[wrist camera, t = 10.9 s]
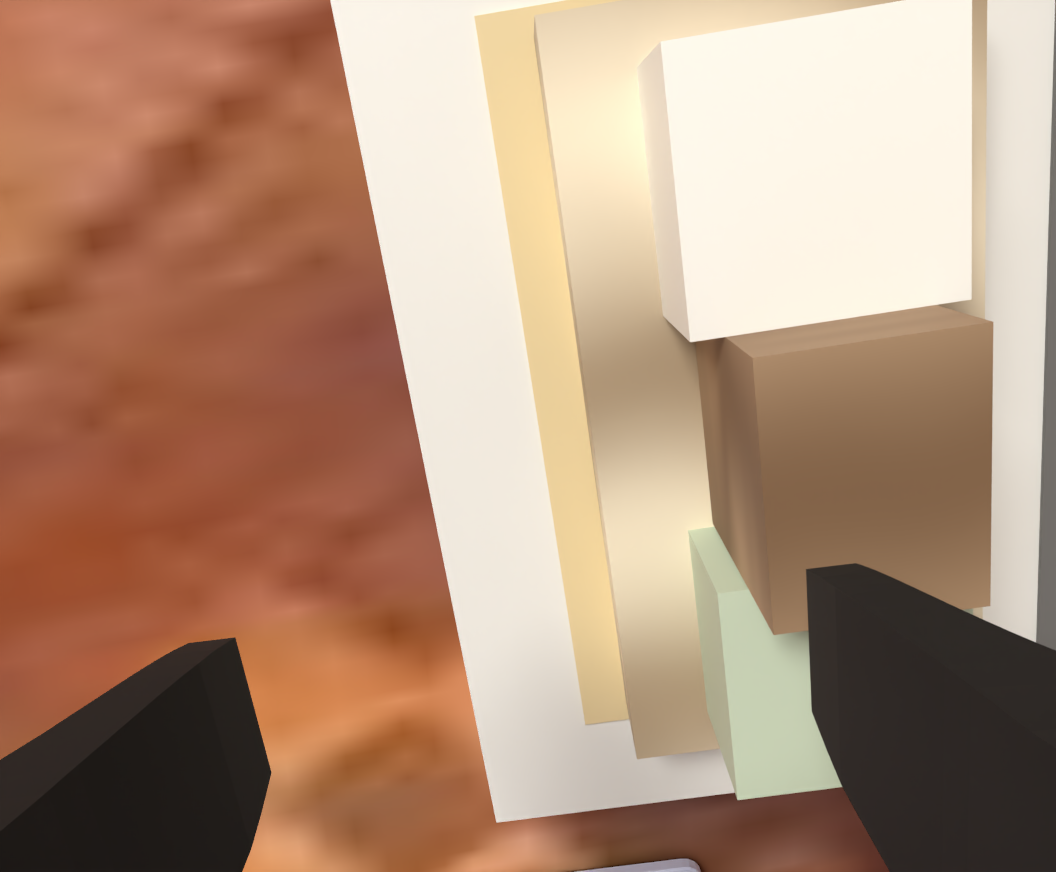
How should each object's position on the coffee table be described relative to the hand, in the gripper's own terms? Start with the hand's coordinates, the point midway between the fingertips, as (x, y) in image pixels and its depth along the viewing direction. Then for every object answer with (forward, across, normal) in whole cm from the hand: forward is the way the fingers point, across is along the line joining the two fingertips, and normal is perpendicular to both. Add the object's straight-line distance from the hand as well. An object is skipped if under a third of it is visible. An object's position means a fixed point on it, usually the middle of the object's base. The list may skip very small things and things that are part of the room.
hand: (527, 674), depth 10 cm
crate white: (+5, -5, -5) cm, 9 cm away
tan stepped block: (+7, -5, -1) cm, 9 cm away
